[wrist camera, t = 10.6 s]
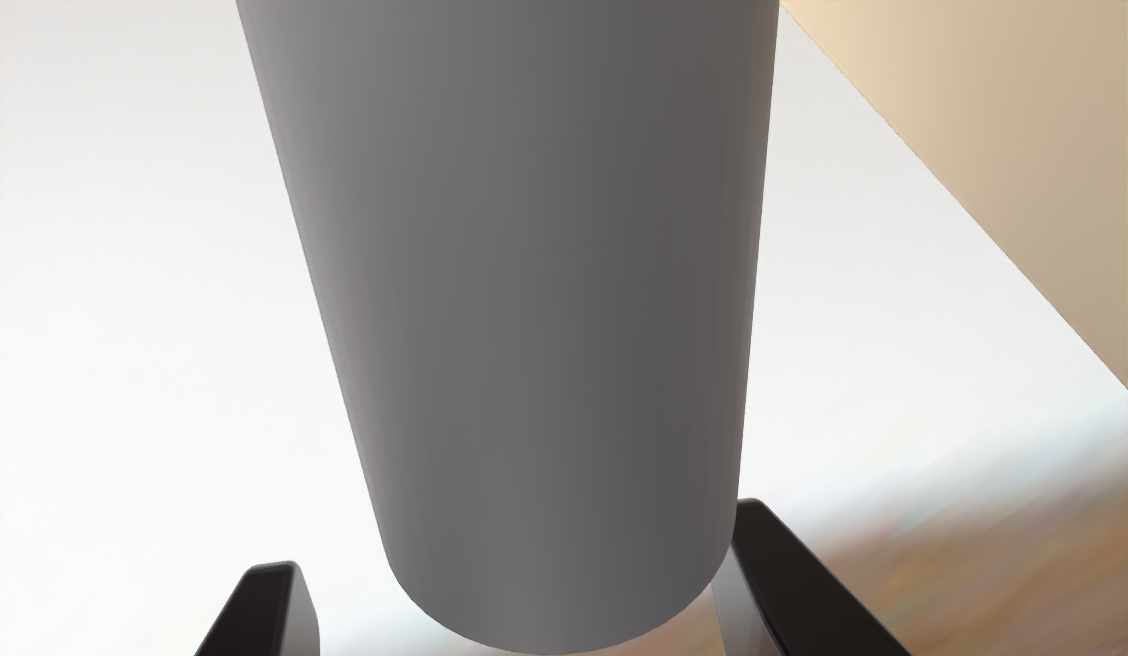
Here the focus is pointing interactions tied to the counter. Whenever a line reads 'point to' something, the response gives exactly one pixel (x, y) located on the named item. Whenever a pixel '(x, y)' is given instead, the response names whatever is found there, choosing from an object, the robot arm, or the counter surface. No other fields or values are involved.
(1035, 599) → the counter surface
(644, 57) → the flap
